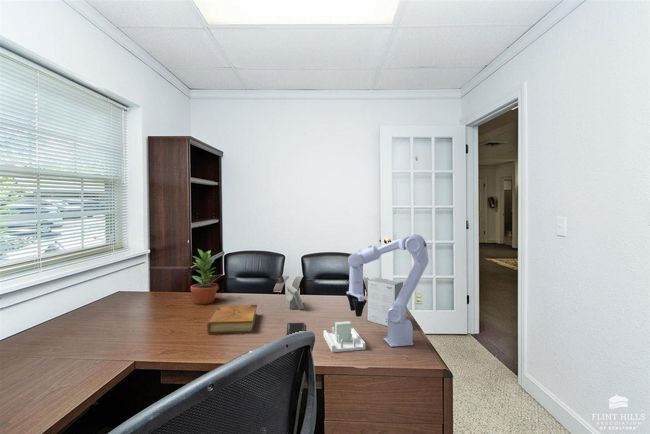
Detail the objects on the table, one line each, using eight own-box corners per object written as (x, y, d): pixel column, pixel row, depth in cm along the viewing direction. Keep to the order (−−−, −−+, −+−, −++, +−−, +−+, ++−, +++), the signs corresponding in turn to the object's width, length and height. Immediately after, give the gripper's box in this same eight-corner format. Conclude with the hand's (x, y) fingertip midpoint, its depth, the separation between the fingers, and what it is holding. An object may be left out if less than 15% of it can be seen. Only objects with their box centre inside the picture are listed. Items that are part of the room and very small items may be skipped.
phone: (286, 336, 136) (287, 322, 151) (286, 338, 136) (287, 325, 151) (305, 335, 137) (304, 322, 152) (305, 338, 137) (304, 324, 152)
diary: (218, 317, 162) (218, 305, 162) (256, 315, 164) (256, 304, 164) (207, 335, 139) (207, 321, 139) (252, 333, 142) (252, 320, 141)
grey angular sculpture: (304, 310, 171) (304, 290, 171) (286, 311, 170) (286, 291, 169) (300, 301, 187) (300, 283, 187) (284, 302, 186) (284, 283, 185)
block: (349, 338, 134) (349, 321, 133) (351, 340, 131) (351, 323, 131) (334, 339, 132) (335, 322, 132) (336, 341, 130) (336, 324, 130)
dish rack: (353, 333, 141) (353, 324, 141) (365, 349, 126) (365, 339, 125) (323, 336, 138) (323, 326, 138) (332, 352, 123) (332, 341, 123)
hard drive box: (403, 324, 152) (404, 281, 151) (394, 329, 147) (395, 284, 146) (375, 316, 163) (376, 276, 162) (366, 320, 157) (366, 279, 156)
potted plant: (214, 305, 179) (213, 250, 178) (186, 305, 179) (185, 250, 178) (222, 297, 194) (222, 246, 192) (197, 297, 194) (196, 246, 193)
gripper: (342, 277, 145) (342, 308, 145) (352, 285, 130) (351, 319, 131) (357, 277, 146) (357, 307, 147) (369, 285, 132) (368, 318, 132)
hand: (355, 313), depth 139 cm, fingers open, 7 cm apart
